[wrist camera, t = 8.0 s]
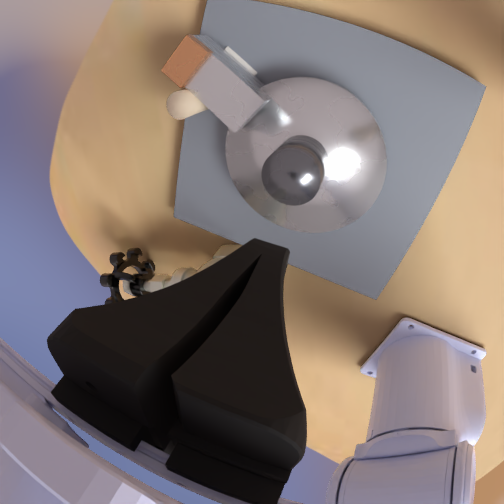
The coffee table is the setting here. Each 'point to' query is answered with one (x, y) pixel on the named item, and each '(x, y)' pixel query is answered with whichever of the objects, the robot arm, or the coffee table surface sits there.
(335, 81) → the board
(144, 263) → the valve
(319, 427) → the coffee table surface
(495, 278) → the coffee table surface
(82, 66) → the coffee table surface
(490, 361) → the coffee table surface
